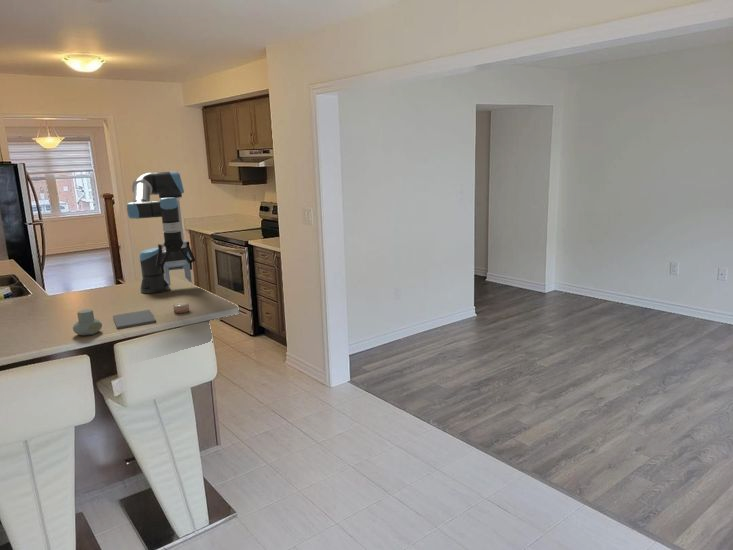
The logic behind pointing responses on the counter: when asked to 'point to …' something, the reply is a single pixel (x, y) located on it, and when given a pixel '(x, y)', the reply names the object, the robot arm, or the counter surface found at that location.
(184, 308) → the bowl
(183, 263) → the grey arch block
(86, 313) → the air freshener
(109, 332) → the counter surface
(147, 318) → the mat
